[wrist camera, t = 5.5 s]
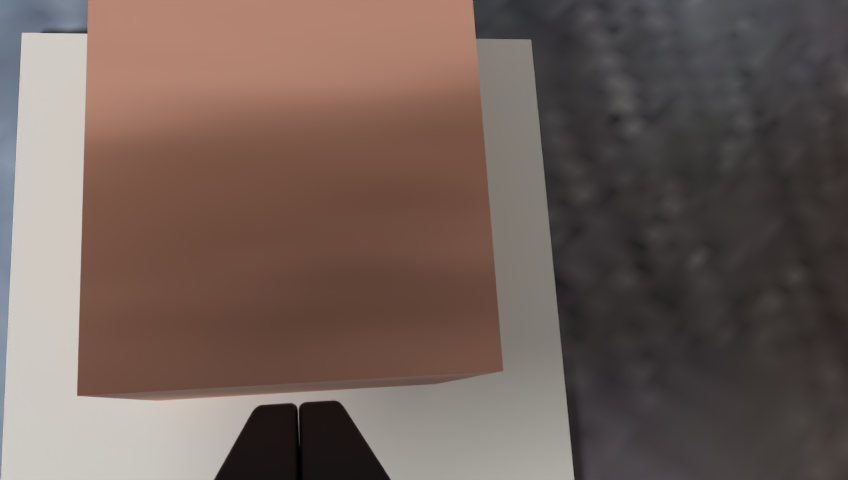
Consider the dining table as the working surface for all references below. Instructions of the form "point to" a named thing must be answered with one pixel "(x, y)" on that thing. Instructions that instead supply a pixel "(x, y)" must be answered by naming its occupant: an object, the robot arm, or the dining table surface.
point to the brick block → (283, 199)
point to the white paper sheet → (226, 416)
